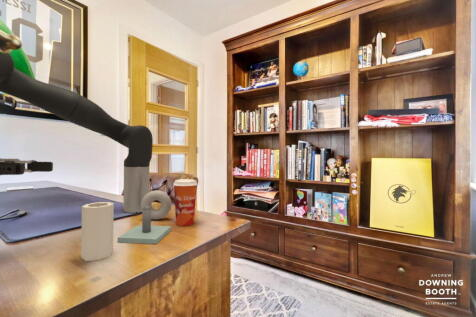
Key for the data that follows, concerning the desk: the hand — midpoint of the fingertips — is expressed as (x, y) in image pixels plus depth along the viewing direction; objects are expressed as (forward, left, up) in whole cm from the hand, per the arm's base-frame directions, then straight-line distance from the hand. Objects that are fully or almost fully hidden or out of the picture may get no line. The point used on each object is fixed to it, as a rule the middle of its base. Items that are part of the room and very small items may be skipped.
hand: (38, 167), depth 46 cm
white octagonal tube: (-3, +11, -19) cm, 22 cm away
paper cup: (-27, +23, -19) cm, 40 cm away
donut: (-30, +12, -19) cm, 38 cm away
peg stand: (-15, +16, -19) cm, 29 cm away
